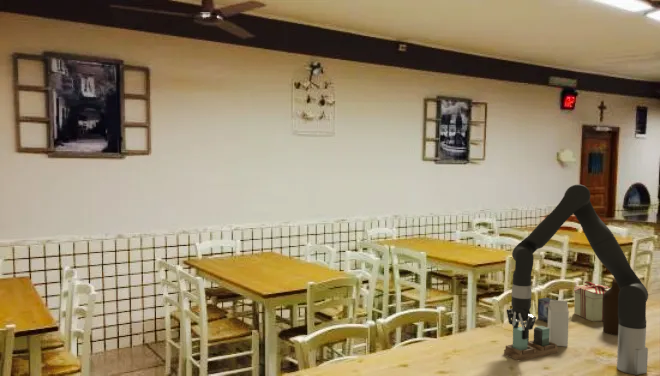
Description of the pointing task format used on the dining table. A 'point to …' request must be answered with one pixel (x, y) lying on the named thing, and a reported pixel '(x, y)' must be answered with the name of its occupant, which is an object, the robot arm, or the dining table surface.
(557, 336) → the milk carton
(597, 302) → the gift box
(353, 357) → the dining table surface
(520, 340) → the teal rectangular block
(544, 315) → the small box
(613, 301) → the olive oil
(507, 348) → the walnut rail
